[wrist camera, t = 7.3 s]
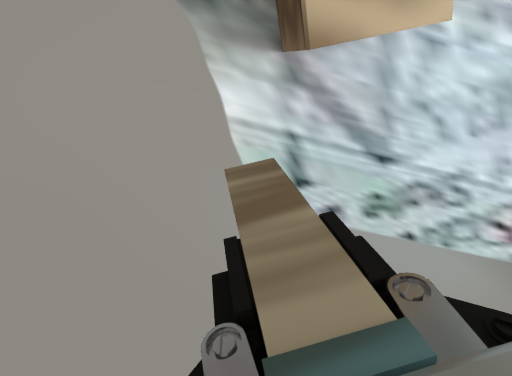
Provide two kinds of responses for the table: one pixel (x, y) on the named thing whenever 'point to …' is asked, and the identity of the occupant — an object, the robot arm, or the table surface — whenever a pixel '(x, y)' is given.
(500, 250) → the table surface
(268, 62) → the table surface
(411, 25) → the lid
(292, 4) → the wooden box with slot
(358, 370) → the block
